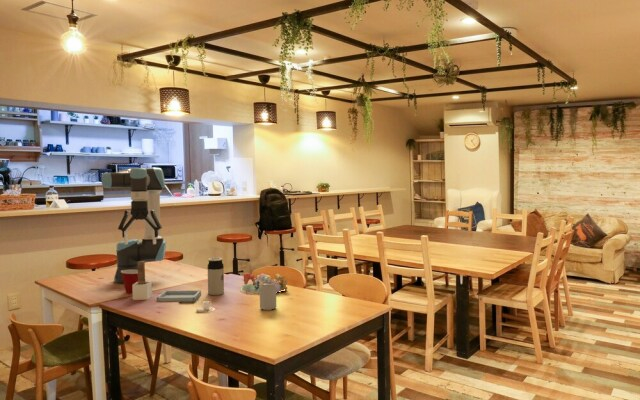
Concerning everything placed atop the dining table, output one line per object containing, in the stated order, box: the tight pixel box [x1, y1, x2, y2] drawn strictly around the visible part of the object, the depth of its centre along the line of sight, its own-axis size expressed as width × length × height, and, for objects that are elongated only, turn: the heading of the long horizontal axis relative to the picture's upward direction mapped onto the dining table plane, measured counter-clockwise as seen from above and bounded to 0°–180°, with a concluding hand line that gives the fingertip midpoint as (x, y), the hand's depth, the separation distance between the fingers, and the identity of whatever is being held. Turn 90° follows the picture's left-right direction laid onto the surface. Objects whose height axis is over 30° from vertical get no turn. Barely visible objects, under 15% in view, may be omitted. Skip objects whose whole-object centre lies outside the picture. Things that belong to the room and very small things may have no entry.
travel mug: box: [207, 257, 225, 296], centre depth 253 cm, size 8×8×18 cm
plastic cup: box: [121, 270, 138, 295], centre depth 255 cm, size 11×11×12 cm
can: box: [259, 282, 277, 311], centre depth 225 cm, size 8×8×12 cm
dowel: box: [138, 261, 146, 285], centre depth 242 cm, size 3×3×18 cm
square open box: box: [132, 281, 153, 301], centre depth 243 cm, size 7×7×8 cm
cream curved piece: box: [195, 300, 216, 313], centre depth 224 cm, size 9×8×4 cm
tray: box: [156, 289, 202, 304], centre depth 244 cm, size 14×18×2 cm
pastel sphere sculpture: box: [240, 272, 288, 295], centre depth 261 cm, size 25×24×9 cm
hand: (140, 244), depth 241 cm, fingers open, 13 cm apart
